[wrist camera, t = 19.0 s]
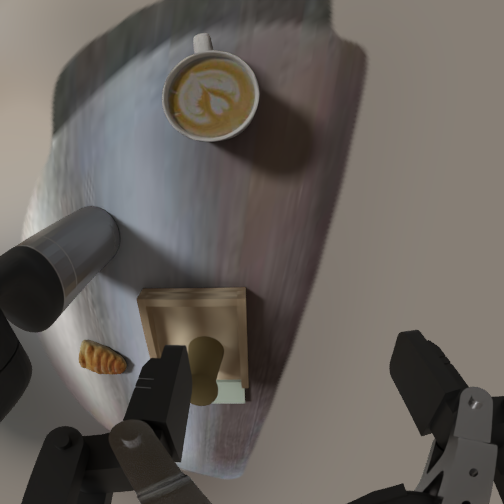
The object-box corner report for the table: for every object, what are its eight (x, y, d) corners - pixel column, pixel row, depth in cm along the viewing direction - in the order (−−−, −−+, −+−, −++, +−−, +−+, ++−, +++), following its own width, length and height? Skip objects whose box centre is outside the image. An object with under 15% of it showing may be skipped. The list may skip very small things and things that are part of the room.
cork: (180, 347, 49) (168, 394, 39) (207, 330, 48) (199, 377, 38) (204, 369, 51) (198, 416, 41) (231, 353, 50) (229, 401, 39)
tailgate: (166, 376, 53) (172, 397, 55) (165, 380, 52) (171, 401, 54) (244, 377, 53) (245, 398, 55) (244, 382, 52) (245, 403, 54)
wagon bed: (161, 373, 53) (158, 386, 50) (143, 288, 46) (136, 299, 43) (248, 374, 53) (248, 388, 50) (245, 287, 47) (245, 298, 43)
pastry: (128, 349, 51) (122, 362, 47) (128, 374, 53) (122, 387, 50) (82, 335, 50) (74, 347, 46) (85, 361, 52) (78, 373, 49)
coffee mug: (254, 141, 39) (258, 142, 30) (180, 141, 39) (161, 143, 30) (257, 47, 34) (261, 21, 25) (182, 48, 34) (165, 25, 25)
